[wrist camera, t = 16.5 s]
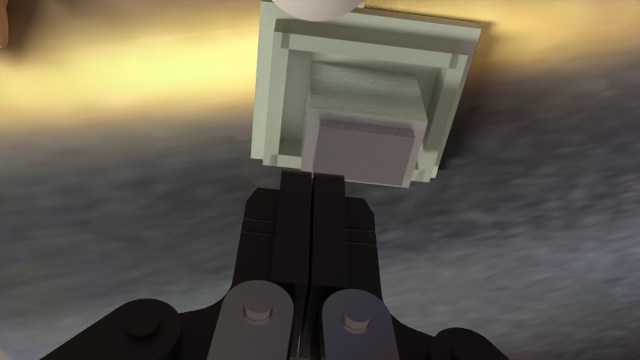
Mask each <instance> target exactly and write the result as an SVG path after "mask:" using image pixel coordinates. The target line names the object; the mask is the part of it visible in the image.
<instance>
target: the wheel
mask: <svg viewBox="0 0 640 360" xmlns="http://www.w3.org/2000/svg"><path fill="white" fill-rule="evenodd" d="M272 1H273V2H274V3H275V4H276V5H277V6H278V7H279V8H281V9H282V10H283V11H285V12H286V13H288V14H290V15H292V16H294V17H297V18H300V19H303V20H308V21H327V20H332V19H335V18H338V17H341V16H343V15H345V14H347V13H349V12H350V11H352V10H353V9H354V8H356V7H357V6H358V5H359V4H360V3H361V2H362V1H363V0H272Z"/></svg>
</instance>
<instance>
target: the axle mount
mask: <svg viewBox="0 0 640 360" xmlns="http://www.w3.org/2000/svg"><path fill="white" fill-rule="evenodd" d="M364 4H365V0H363V1H362V2H361V3H360V4H359V5H358V6H357V7H358V8H364Z"/></svg>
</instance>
